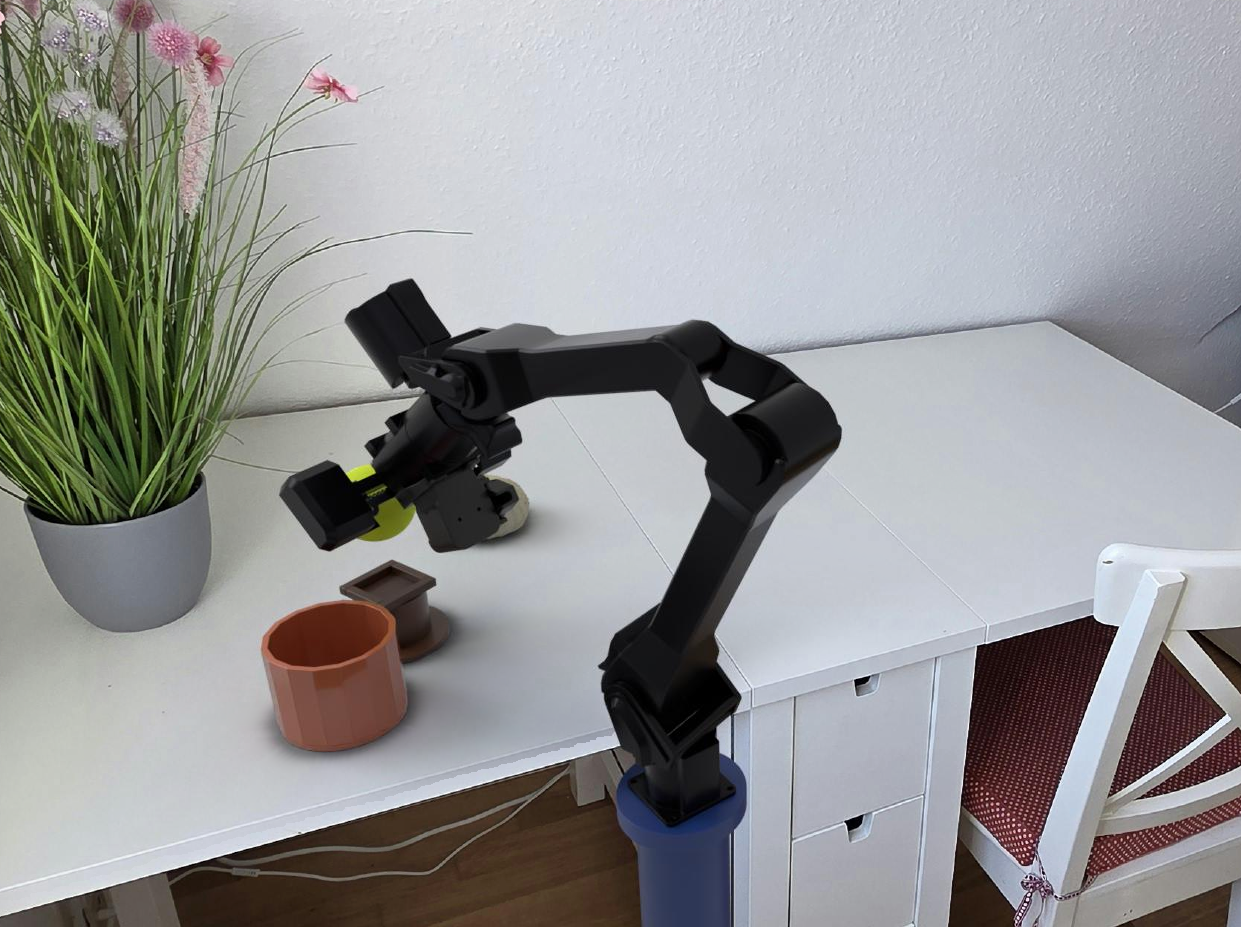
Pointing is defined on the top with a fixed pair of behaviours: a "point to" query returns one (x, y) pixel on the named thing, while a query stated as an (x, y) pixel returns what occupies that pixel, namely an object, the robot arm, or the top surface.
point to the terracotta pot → (335, 674)
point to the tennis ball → (384, 511)
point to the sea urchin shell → (515, 515)
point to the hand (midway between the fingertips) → (365, 511)
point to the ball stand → (403, 606)
